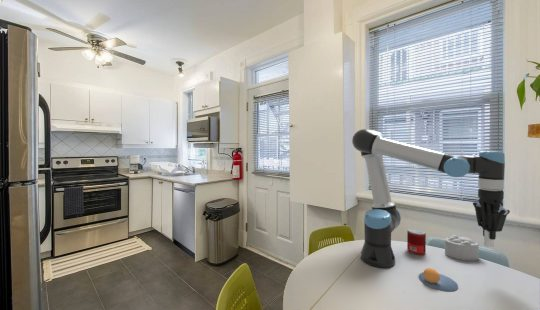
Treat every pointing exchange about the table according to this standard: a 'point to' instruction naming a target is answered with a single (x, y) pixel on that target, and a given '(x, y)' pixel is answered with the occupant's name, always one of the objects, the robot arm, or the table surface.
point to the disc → (441, 283)
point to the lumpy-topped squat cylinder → (461, 248)
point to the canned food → (416, 241)
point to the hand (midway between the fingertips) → (488, 245)
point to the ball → (431, 275)
